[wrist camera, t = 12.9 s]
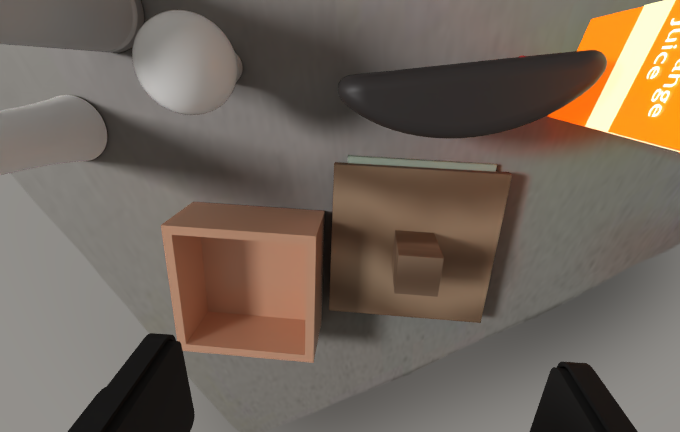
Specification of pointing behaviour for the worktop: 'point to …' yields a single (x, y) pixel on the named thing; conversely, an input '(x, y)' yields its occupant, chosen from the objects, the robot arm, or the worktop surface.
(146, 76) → the lightbulb
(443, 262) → the lid
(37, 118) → the cosmetic bottle
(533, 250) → the worktop surface
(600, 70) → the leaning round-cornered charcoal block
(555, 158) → the worktop surface
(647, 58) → the orange juice
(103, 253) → the worktop surface
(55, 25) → the travel mug
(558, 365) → the robot arm
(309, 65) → the worktop surface
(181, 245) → the salmon open box
